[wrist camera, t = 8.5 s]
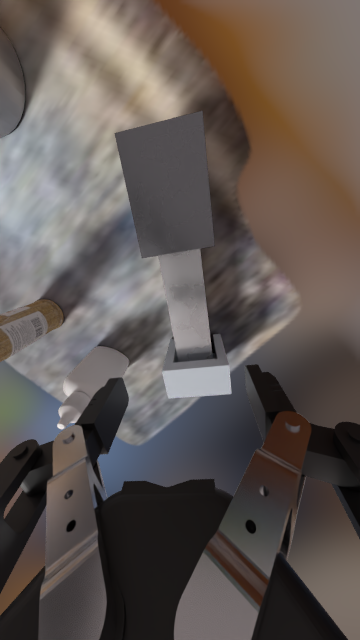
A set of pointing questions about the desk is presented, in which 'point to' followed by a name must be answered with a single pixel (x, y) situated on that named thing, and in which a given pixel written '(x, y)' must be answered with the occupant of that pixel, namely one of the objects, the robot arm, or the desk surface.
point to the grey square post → (187, 304)
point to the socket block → (197, 373)
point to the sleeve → (168, 184)
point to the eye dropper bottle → (89, 381)
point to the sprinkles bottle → (27, 325)
